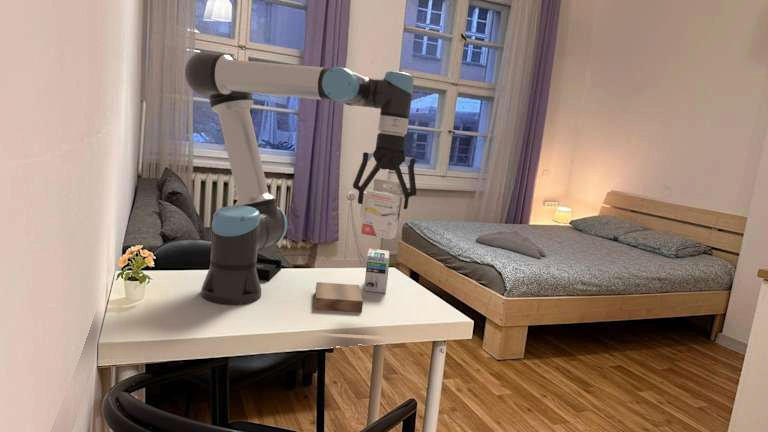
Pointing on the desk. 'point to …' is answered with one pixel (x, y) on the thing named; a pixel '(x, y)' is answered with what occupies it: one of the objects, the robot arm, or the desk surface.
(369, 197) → the ink cartridge box
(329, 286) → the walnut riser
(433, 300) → the desk surface
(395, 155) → the robot arm
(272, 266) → the battery charger
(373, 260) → the light bulb box
